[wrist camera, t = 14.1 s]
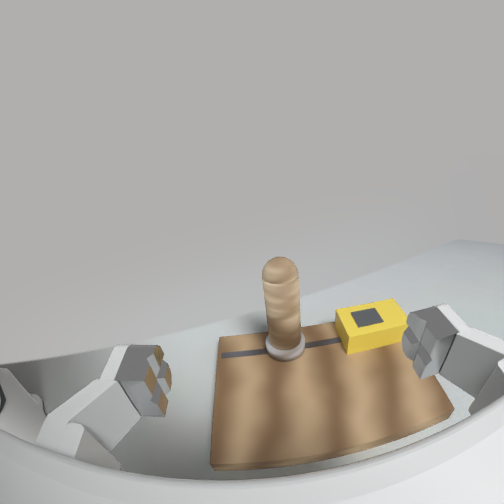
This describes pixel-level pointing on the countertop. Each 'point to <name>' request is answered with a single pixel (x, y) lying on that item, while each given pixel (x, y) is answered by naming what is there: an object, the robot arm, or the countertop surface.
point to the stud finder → (370, 325)
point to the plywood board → (315, 401)
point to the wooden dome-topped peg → (282, 310)
